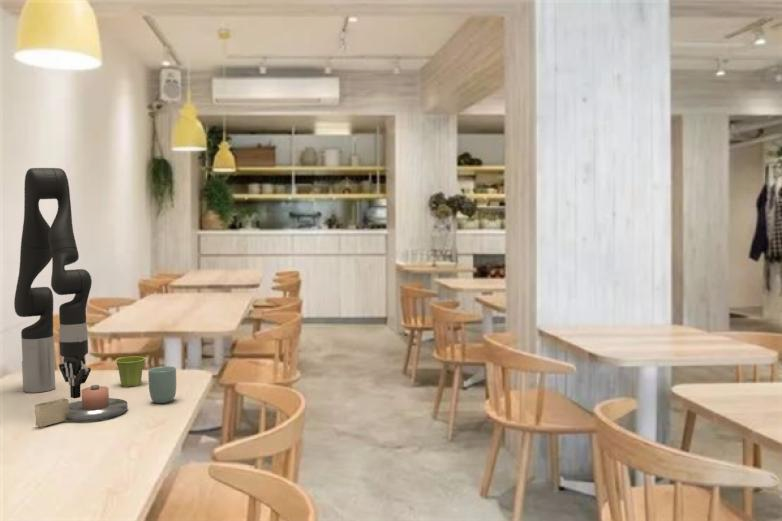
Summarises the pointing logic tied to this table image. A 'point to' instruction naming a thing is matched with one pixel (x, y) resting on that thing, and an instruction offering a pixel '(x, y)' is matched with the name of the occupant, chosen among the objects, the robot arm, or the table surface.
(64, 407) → the platter
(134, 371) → the plant pot
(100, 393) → the cap
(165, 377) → the cup
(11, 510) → the table surface
